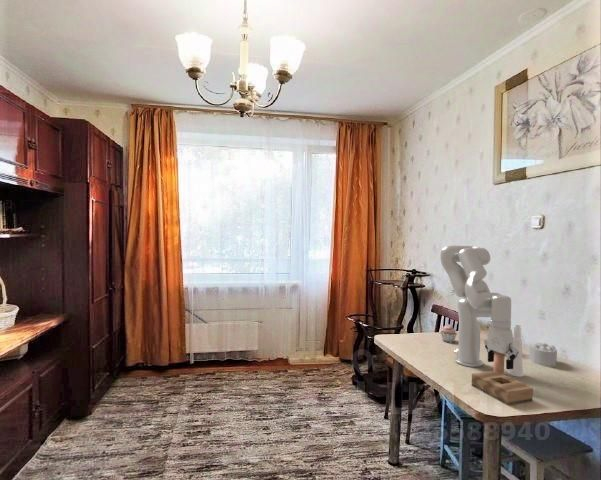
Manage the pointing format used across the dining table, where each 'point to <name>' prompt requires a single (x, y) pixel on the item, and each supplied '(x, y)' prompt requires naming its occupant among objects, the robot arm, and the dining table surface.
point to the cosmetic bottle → (517, 361)
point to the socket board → (502, 387)
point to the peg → (499, 362)
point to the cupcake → (448, 333)
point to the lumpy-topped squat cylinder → (543, 354)
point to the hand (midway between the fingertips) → (500, 365)
